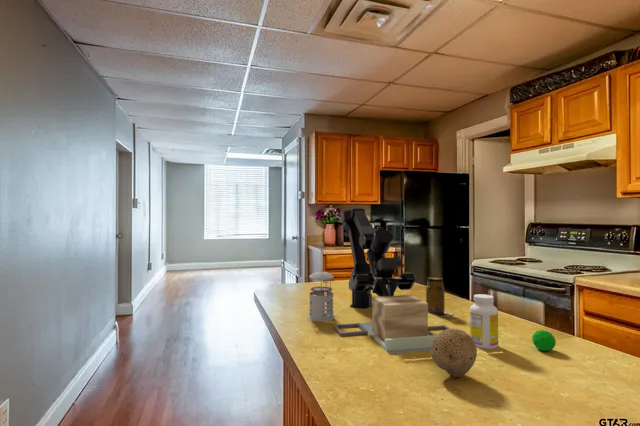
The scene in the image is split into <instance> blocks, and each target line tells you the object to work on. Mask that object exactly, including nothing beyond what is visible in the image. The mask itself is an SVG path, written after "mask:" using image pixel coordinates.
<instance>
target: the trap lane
mask: <svg viewBox="0 0 640 426" xmlns="http://www.w3.org/2000/svg"><path fill="white" fill-rule="evenodd" d="M345 328H347V329H348V328H358V329H359V330H356V331H342V330H341V329H345ZM333 329H334V330H335V332H336V333H337V334H338V335H339V337H349V336H363V335H364V336H366V335H368V334H369V336H370V337H371V338H372V339H374V340H375V342H376V343H377V344H378V345H379V346H380V347H381V348H383V350H385V351H386V353H387V354H388V355H390V354H391V355H393V354H405V353H407V354H408V353H416V352H417V353H420V352H431V346H432V343H433V340H434V338H435V337H436V336H437V335H438V334H435V333H432V332H431V331H436V330H437V331H438V330H443V331H444V330H446V329H451V328H450V327H448V326H447V325H446V324H443V325H442V324H441V325H428V336H417V337H402V338H388V339H385V343H384V342H383V341H382V340H381V339H380V338H379V337H377V336H376V335H375V334H374V333H373V332H372V321H371V322H355V323H338V324H333Z"/></svg>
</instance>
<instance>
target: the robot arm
mask: <svg viewBox="0 0 640 426" xmlns="http://www.w3.org/2000/svg"><path fill="white" fill-rule="evenodd" d="M340 222H341V224H342V228H343V229H344V230H345V231H346V232H347V234H348V237H349V243H350V249H351V255H352V261H353V268H352V270H351V275H350V277H349V281H348V289H349V290H350V291H351V304H350V305H349V307H351V308H357V309H363V310H367V309H368V308H372V297H373V294H376V296H395V292H396V290H397V289H400V290H401V291H408V290H411V289H412V288H413V286H414V284H415V282H416V281H417V278H416V275H415V273H413V272H401V273H400V275H399V276H398V277H397V276H395V277H393V276H394V275H395V270H397V269H399V268H401V267H402V266H403V261H402V258H401V256H400V255H394V256H393V257H386V254H387V253H388V252H389V250H390V247H391V245H392V243H393V240H394V234H393V233H392V232H390V231H389V230H387V229H385V228H384V227H383V226H382V227H381V226H378V227H377V228H375V227H373V225H372V223H371V222H370V220H369V218H368V216H367V214H366V209H365V208H362V207H352V208H350V209H349V210H344V211H343V212H342V213H341V215H340ZM365 250H367V251H366V254H365ZM372 293H373V294H372Z"/></svg>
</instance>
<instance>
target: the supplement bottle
mask: <svg viewBox="0 0 640 426" xmlns="http://www.w3.org/2000/svg"><path fill="white" fill-rule="evenodd" d="M473 301H474V304H471V306H470V307H469V330H470V331H469V336H470V337H471V338H472V339H473V340H474V342H475V344H476V348H480V349H487V350H488V349H489V350H490V349H491V350H493V349H496V348H497V349H498V347H499V311H498V308H497V307H496V306H495V305H494V301H495V300H494V296H493V295H489V294H484V293H483V294H481V293H480V294H479V293H478V294H474V295H473Z"/></svg>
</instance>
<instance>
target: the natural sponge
mask: <svg viewBox="0 0 640 426" xmlns="http://www.w3.org/2000/svg"><path fill="white" fill-rule="evenodd" d="M436 335H437V336H436V337H435V338H434V340H433V343H432V346H431V351H430V356H431V359H432V362H433V363H434V364H435V365H436V366H437V367H439V369H441V370H444V371H445V372H446V373H447V374H448V375H450V376H452V377H453V378H461V377H463V376H465V375H466V374H467V373H469V371H470V370H471V369H472V367H473V366H474V363H475V362H476V359H477V356H478V350H477V348H478V347H476V344H475V342H474V340H473V339H472V338H471V337H470V334H469V333H468V332H466V331H465V330H462V329H458V328H450V329H446V330H444V329H443V330H442V331H440V332H438V333H437V334H436Z"/></svg>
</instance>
